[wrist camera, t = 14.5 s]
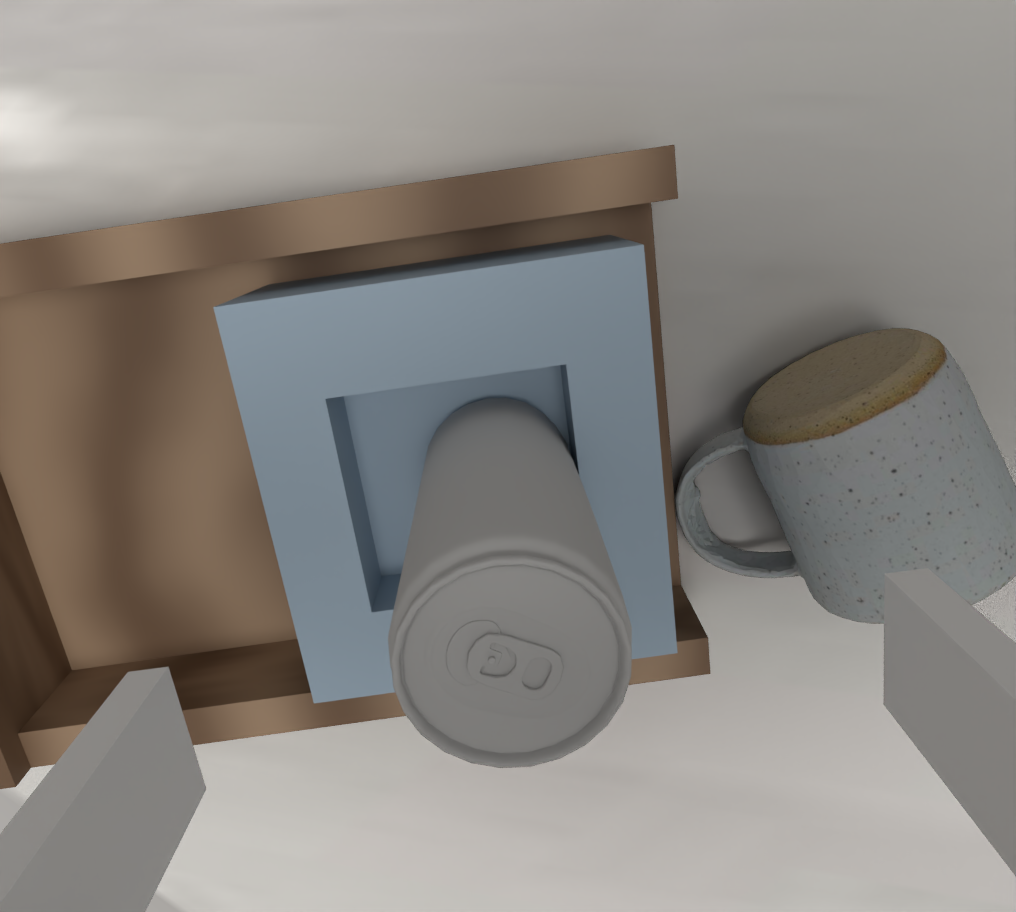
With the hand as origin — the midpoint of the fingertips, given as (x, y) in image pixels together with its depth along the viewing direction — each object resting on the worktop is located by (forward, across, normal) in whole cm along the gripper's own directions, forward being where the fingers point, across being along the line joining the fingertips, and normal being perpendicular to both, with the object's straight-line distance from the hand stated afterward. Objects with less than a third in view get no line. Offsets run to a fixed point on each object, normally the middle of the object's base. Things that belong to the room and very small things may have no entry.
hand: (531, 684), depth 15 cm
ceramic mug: (+18, -11, +3) cm, 21 cm away
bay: (+17, +7, 0) cm, 18 cm away
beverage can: (+12, +1, 0) cm, 13 cm away
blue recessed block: (+16, +2, 0) cm, 16 cm away
